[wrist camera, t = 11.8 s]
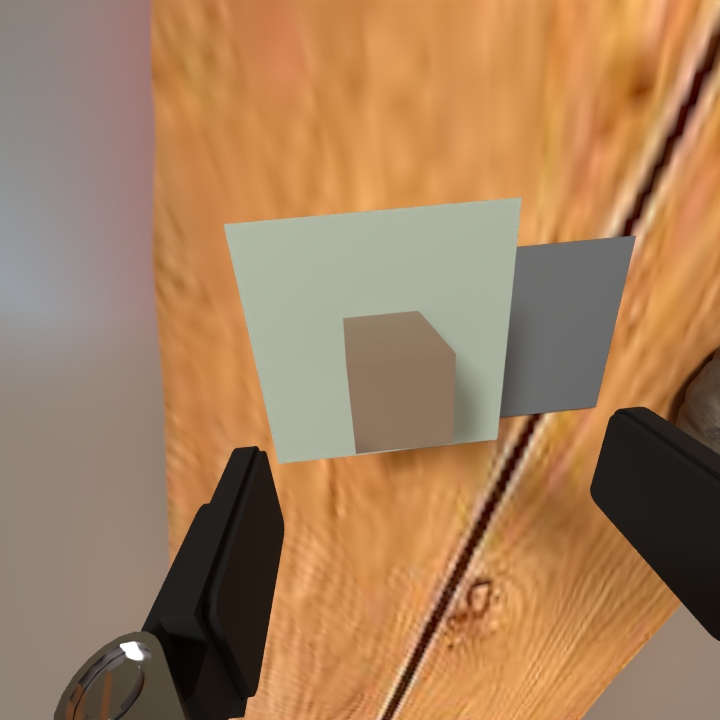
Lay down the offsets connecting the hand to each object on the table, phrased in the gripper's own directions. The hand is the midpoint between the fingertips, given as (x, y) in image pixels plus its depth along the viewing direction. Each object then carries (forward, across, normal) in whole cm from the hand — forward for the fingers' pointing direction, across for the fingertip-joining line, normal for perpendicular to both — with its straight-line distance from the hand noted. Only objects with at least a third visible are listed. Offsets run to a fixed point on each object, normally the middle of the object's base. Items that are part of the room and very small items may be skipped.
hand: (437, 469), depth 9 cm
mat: (+24, -15, +7) cm, 29 cm away
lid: (+11, 0, 0) cm, 11 cm away
